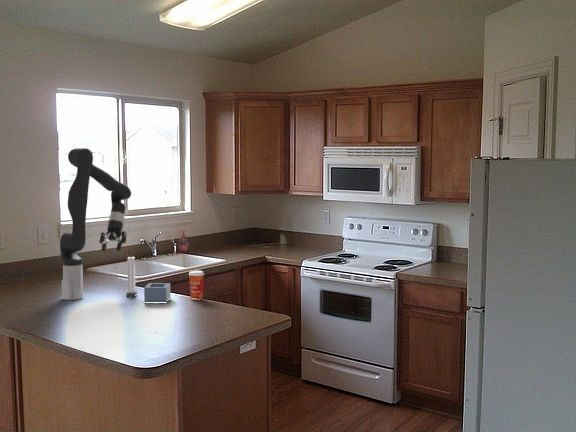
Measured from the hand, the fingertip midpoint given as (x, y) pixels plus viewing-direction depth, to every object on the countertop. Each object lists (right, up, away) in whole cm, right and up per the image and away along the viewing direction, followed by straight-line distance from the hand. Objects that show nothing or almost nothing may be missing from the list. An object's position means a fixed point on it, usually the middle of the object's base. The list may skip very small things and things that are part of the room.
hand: (110, 251), depth 323 cm
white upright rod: (+11, -23, -2) cm, 25 cm away
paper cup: (+45, -24, -8) cm, 52 cm away
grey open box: (+27, -24, -13) cm, 38 cm away
